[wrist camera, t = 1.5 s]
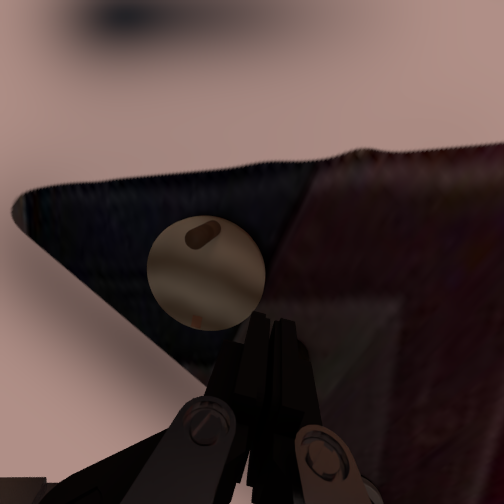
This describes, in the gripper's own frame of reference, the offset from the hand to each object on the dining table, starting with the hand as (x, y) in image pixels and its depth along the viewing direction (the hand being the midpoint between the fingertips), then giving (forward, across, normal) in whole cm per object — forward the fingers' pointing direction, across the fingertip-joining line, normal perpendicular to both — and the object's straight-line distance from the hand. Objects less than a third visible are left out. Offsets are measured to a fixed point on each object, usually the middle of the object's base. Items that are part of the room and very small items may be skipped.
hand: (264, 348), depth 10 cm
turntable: (+19, +7, +6) cm, 21 cm away
